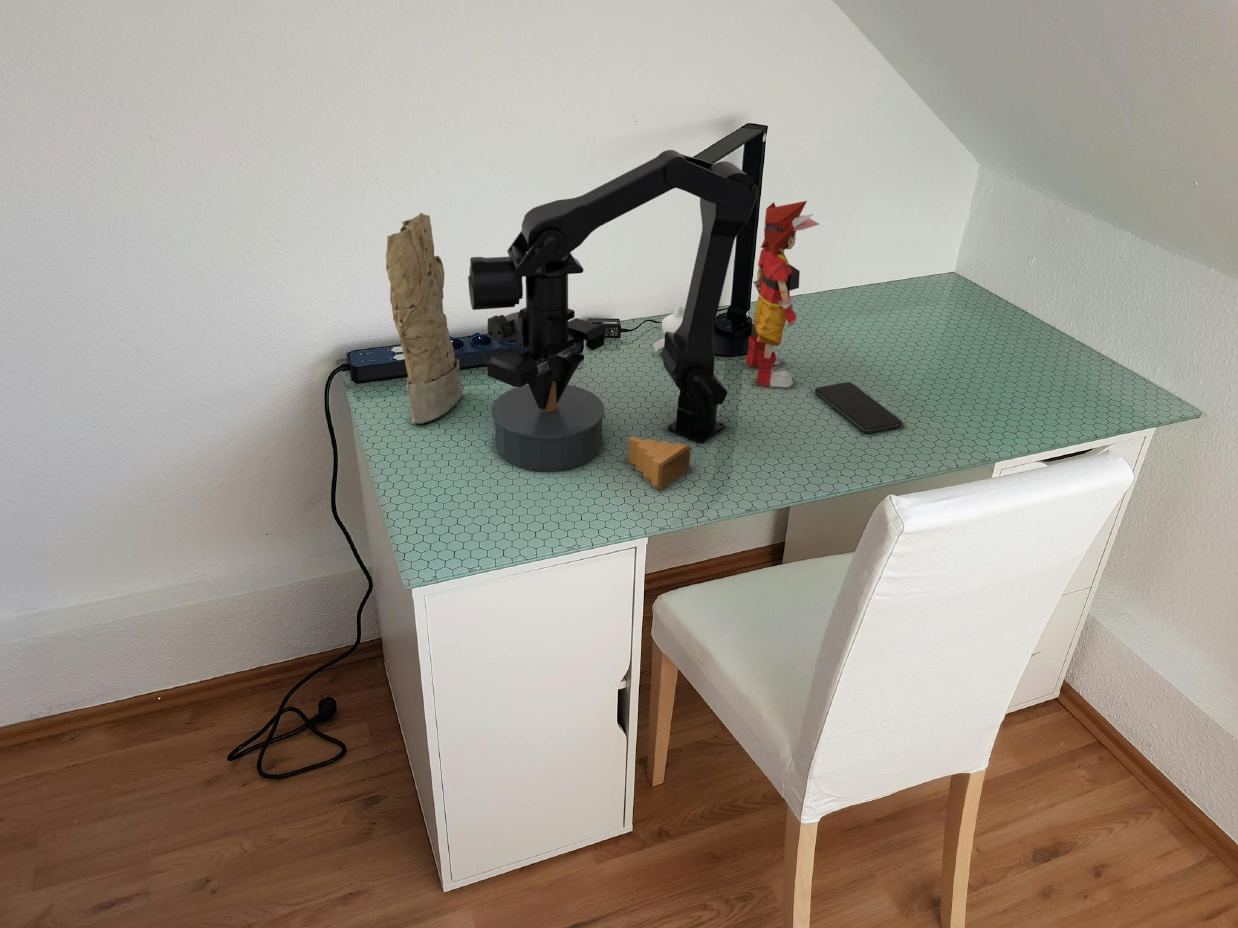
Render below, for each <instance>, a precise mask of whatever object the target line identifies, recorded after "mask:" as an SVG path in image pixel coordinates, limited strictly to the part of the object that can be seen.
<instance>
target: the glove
mask: <svg viewBox="0 0 1238 928" xmlns="http://www.w3.org/2000/svg"><path fill="white" fill-rule="evenodd" d="M401 223H402V226H401V228H400V229H399V232H395V233H392V234H390V235H387V238H386V252H385V270H386V272H387V278H388V282H389V285H390V287H389V289H390V290H389V301H390V302H389V303H390V304H391V308H392V310H391V311H392V320H393V322H394V325H395V329H396V331H397V333H398V337H399V344H400V346H401V348H402V355H403V357H404V362H405V363H404V364H405V368H406V372H407V377H406V392H407V395H408V400H409V405H410V410H411V411H410V412H411V419H410V421H411V424H425V423H427V422H431V421H433V420H436V419H438V418H440V417H442V416H443V415H445V414H447V413H448V412H449V411H450V410H451V409H452V408H453V407H455V406H456V405H458V402H459V400H461V399H462V396H463V394H464V387H463V383H462V380H461V377H460V367H461V366H460V358H455V356H456V351H455V350H454V346H453V343H452V340H451V338H450V331H449V328H448V319H447V315H446V314H445V313H444V303H443V302H444V301H443V299H444V287H445V269H444V264H443V261H442V259H441V257H440V256H439V255H435V243H434V237H433V228H432V223H431V216H430V215H429V214H427V215H426V214H425V213H422V212H420V213H419V214H418V215H417V216H414V217H413V218H410V219H407V220H404V221H401Z"/></svg>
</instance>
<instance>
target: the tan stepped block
mask: <svg viewBox="0 0 1238 928" xmlns="http://www.w3.org/2000/svg"><path fill="white" fill-rule="evenodd" d="M691 453H692V446H691V445H689V444H687V445H684V444H682V443H679V442H676V444H673V443H670V442H667V441H665V440H661V441H659V442H657V441H655V440H654V439H651V438H646V439H644V440H643V439H642V438H639V437H636V436H633V435H632V436H630V437H629V438H628V455H627V456H628V459H627V462H628V463H629V464H631V465H634V466H635V470H636V471H638V472H641V473H642V477H643V478H645V479H646V480H648V481H650V484H651V486H654V487H656V489H657V490H658V491H660V492H661V491H662V490H664V489H665V488H667V487H668V486H669V485H671V484H672V483H673V482H675V481H676V480H678V479H680V478H681V477H682V476H683V475H685V474H687V472H689V471H690V465H691Z"/></svg>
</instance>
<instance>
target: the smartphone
mask: <svg viewBox="0 0 1238 928" xmlns="http://www.w3.org/2000/svg"><path fill="white" fill-rule="evenodd" d="M814 393H815V394H816V395H817V396H818V397H819V398H821V399H822V400H823V401H824V402H825V403H826V404H828V405H829V406H830V407H832V409H834V410H835V411H836V412H838V413H839V414H840V415H841V416H842V417H843V418H845V419H846V420H847V421H848V422H850V423H851V424H853V425H854V426H855V427H856V428H857V429H859V430H860V431H861V432H862V433H864V434H873V433H877V432H882V431H886V430H892V429H897V428H900V427H902V426H903V424H904V423H903V421H902V420H901V419H900V418H899V417H898V416H897V415H895V414H894V413H892V412H891V411H890V410H889V409H887V408H886V407H884V406H883V405H882V404H880V403H879V402H878V401H876V400H875V399H874V398H873V397H871V396H870V395H869V394H868V393H866V392H865V391H864V390H862V389H861V388H860V387H858V386H857V385H856V384H854V383H853V382H849V381H846V382H845V381H843V382H839V383H834V384H828V385H822V386H817V387H815V389H814Z"/></svg>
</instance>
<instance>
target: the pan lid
mask: <svg viewBox="0 0 1238 928" xmlns="http://www.w3.org/2000/svg"><path fill="white" fill-rule="evenodd" d="M491 416H492V419H493V421H494V423H495V422H496V424H498V425H499V426H500V427H501V428H503V429H504V430H506V431H508V432H510V433H513V434H515V435H519V436H522V437H527V438H534V439H561V438H568V437H573V436H576V435H580V434H582V433H585V432H587V431H589V430H591V429H593V428H594V427H596V426H597V425H598V424H599V423H600V422H601V420H602V421H603V419H604V416H605V406H604V403H603V401H602V400H601V398H599V396H597V395H596V394H595V393H593V392H592V391H589V390H587V389H585V388H582V387H579V386H576V385H572V384H567V386H566V388H565V390H564V392H563V394H562V396H561V398H560V399H559V401H558V402H557V403H556V382H555V381H553V382H552V386H551V391H550V395H549V399H548V403H547V406H546V409H544V410H542V409H540V408H538V406H537V403H536V401H535V399H534V396H533V394H532V392H531V389H530V387H529V385H528V384H526V385H524V386H522V387H514V388H511V389H509V390H507V391H506V392H504V393H502V394H500V395H499V396H498V397H497V398H496V399H495V400H494V402H493V403H492V406H491Z"/></svg>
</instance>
